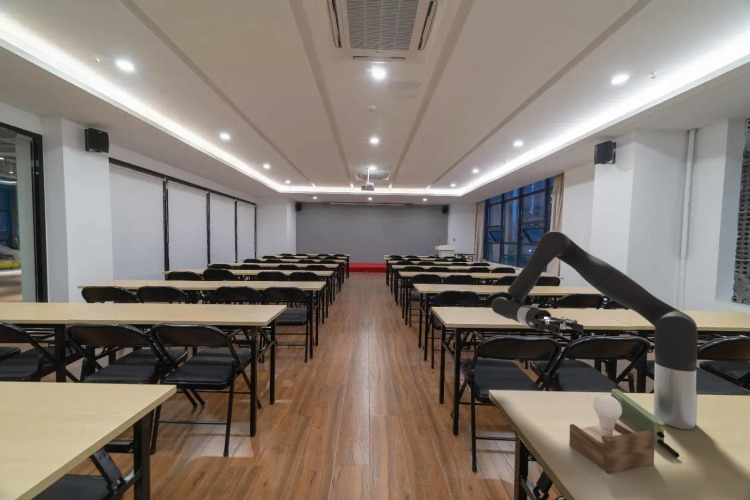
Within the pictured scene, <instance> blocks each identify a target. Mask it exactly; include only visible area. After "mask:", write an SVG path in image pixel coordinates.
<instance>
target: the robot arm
mask: <svg viewBox="0 0 750 500" xmlns="http://www.w3.org/2000/svg"><path fill="white" fill-rule="evenodd" d="M555 258H556V259H558V260H560V261H562V262H563V263H564V264H566V265H568V266H569V267H570V268H572V269H574V270H575V271H576V272H577V274H579V276H581V278H583V280H585V281H586V282H587V283H588V284H589V285H591V287H593V288H594V289H595V290H596V291H598V292H600V293H601V294H602V295H603V296H605V297H607V298H608V299H610V300H612V301H614V302H616V303H618V304H620V305H621V306H623V307H626V308H628V309H629V310H632V311H633V312H635V313H637V314H638V315H640V316H641V317H642V318H644V319H645V320H646V321H648V322H649V323H650V324H651V325H652V326H653V327H654V349H653V351H654V385H653V387H654V388H653V391H654V392H653V415H654V416H655V417H656V418H658V419H659V420H661V421H662V422H663V423H664V424H665V425H667V426H670V427H673V428H676V429H680V430H693V429H695V427H696V426H695V425H697V421H698V419H697V416H698V415H697V414H698V413H697V412H698V394H697V367H698V366H697V364H698V326H697V323H696V321H695V320H694V319H693V318H692V317H691V316H689V315H688V314H686V313H684V312H683V311H681V310H679V309H677V308H675V307H674V306H672V305H669V304H668V303H667V302H665V301H663V300H661V299H660V298H657V297H656V296H655V295H653V294H652V293H650V292H649V291H648V290H647V289H646V288H644V287H643V286H641V284H639V283H637V281H635V280H633V279H632V278H631V277H630V276H628V275H626V274H625V273H624V272H622V271H621V270H619V269H618V268H616V267H614V266H613V265H611V264H609V263H608V262H606V261H605V260H602V259H601V258H599V257H596V256H595V255H592V254H590V253H589V252H587V251H586V250H584V249H583V248H582V247H580V246H579V245H578V244H576V242H574V241H573V240H572V239H571V238H570V237H569V236H568V235H566V234H565V233H562V232H561V231H558V230H550V231H547V232H546V233H544V234H543V235H542V236H541V239H540V240H539V242H538V244H537V245H536V248H535V250H534V252H533V253H532V255H531V257H530V258H529V260H528V261H527V263H526V264H525V266H524V267H523V269H522V270H521V271H520V273H519V274H518V275H517V276H516V278H515V279H514V280H513V282H512V283H511V284H510V285H509V287H508V288H507V293H508V294H509V295H510V296H511V297H512V298H511V299H509V298H507V297H502V296H499V297H496V298H494V299H493V300H492V302H491V308H492V309H491V310H492V311H493V313H495V314H496V315H499V316H501V317H503V318H506V319H508V320H513V321H515V322H517V323H520V324H522V325H524V326H526V327H528V328H531V329H533V330H537V331H539V332H544V331H545V332H550V333H553V334H556V335H560V334H561V330H566V329H568V330H573V331H576V332H579V333H583V332H584V330H585V329H584V328H585V327H584V325H583V324H581V323H578V320H576V319H573V318H569V317H565V316H560V317H558V316H553V315H552V314H551V312H549V310H547V309H543V308H540V307H536V306H533V305H527V304H525V303H524V302H525V299H526V298H527V296H528V295H529V294H530V292H531V291H533V289H534V287H535V286H536V284H537V282H538V281H539V280H540V278H541V275H542V274H543V272H544V270H545V269H546V268H547V266H548V265H549V264H550V263H551V262H553V260H554V259H555ZM561 325H562V326H561Z"/></svg>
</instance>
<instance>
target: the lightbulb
mask: <svg viewBox="0 0 750 500" xmlns="http://www.w3.org/2000/svg"><path fill="white" fill-rule="evenodd" d="M592 406H593V409H594V411H595V413H596V415H597V417H598V421H599V425H600V426H601V427H600V428H601V434H602V435H603V436H604V437H612V436H613V430H614V426H615V423H616V421H618V420H619V418H620V417H622V416H621V414H622V407H621V405H620V403H619V402H618V400H617V399H615V398H614V397H612V396H611V394H607V393H603V394H597V396H595V397H594V399H593V403H592Z"/></svg>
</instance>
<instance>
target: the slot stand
mask: <svg viewBox="0 0 750 500" xmlns="http://www.w3.org/2000/svg"><path fill="white" fill-rule="evenodd" d="M600 427H601V426H600V424H599V425H591V426H586V427H581V428H580V427H579V426H577V425H575V424H574V423H570V424H569V446H571V448H573V449H574V450H576V451H577V452H579V453H580V454H581V455H582V456H584V457H585V458H586V459H588V460H589V461H591V463H593V464H594V465H596V466H597V467H598V468H600V469H601V470H603V471H604V472H605V473H606V474H608V475H609V474H614V473H619V472H624V471H629V470H634V469H638V468H643V467H648V466H652V465H655V444H654V436H655V433H654V432H652V431H651V430H646V431H635V430H634V429H632V428H629V426H626V425H624V424H623V423H621V422H619V421H618V420H617V421H616V423H615V426H614V430H613V436H612V437H604V436H603V435H602V434H601V428H600Z"/></svg>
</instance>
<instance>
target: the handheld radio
mask: <svg viewBox="0 0 750 500" xmlns="http://www.w3.org/2000/svg"><path fill="white" fill-rule="evenodd" d="M610 396H612V397H614V398H615V399H617V400H618V402H619V403H620V405H621V407H622V414H621V416H620V417H622V418H623V419H624V420H625V421H626V422H628V423H629V424H630V425H631V426H632V427H634V428H635V429H636V430H637V432H640V431H646V430H651V431H652V432H654V433H655V436H654V446H661V447H662V448H664V449H665V450H666V451H668V452H669V454H671V455H672V456H673V457H674V458H679V457H680V453H679V452H678V451H677V450H675V449H673V447H671V446H670V445H669V444H668V443H666V442H665V437H666V436H665V427H664V426H665V425H666V424H664V423H663V422H662V421H661V420H659V419H658V418H656V417H655V416H654V414H653V413H651V412H649V411H648V410H647V409H645V408H644V407H642V405H640V404H639V403H637V402H636V401H635V400H633V399H632V398H630V397H629V396H627V395H626V394H625V393H624V392H622V391H621V390H620V389H616V388H611V392H610Z"/></svg>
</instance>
